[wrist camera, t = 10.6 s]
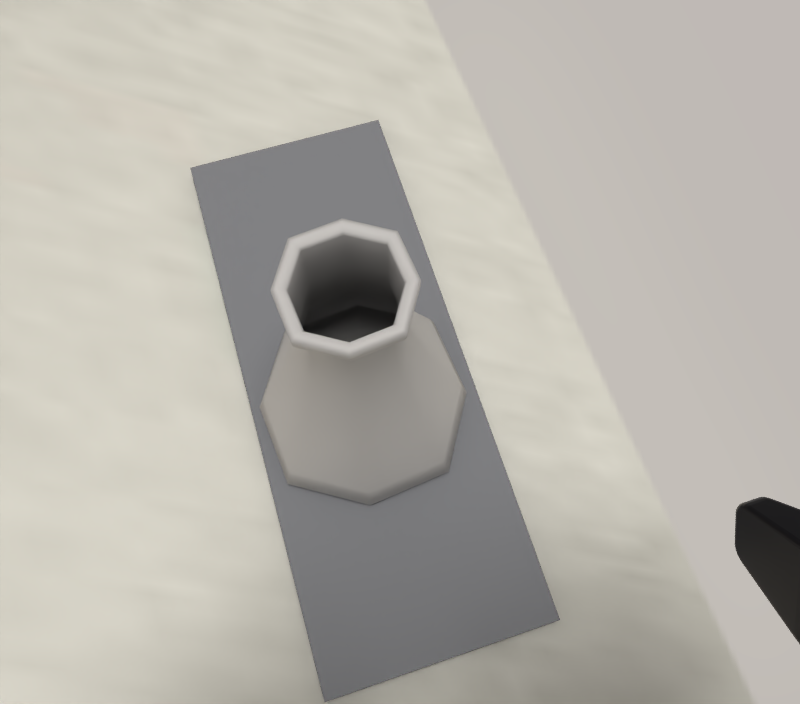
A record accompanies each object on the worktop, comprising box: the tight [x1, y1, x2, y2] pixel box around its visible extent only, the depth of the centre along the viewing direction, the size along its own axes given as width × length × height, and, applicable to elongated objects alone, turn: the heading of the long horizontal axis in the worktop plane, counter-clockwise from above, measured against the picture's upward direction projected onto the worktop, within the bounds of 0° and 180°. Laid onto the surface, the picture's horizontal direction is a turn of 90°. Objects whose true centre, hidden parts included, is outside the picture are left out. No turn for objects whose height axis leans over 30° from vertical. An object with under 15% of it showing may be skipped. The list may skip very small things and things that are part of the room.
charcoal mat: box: [191, 120, 560, 702], centre depth 24 cm, size 20×8×1 cm, turn 18°
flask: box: [260, 219, 467, 505], centre depth 19 cm, size 7×7×10 cm
